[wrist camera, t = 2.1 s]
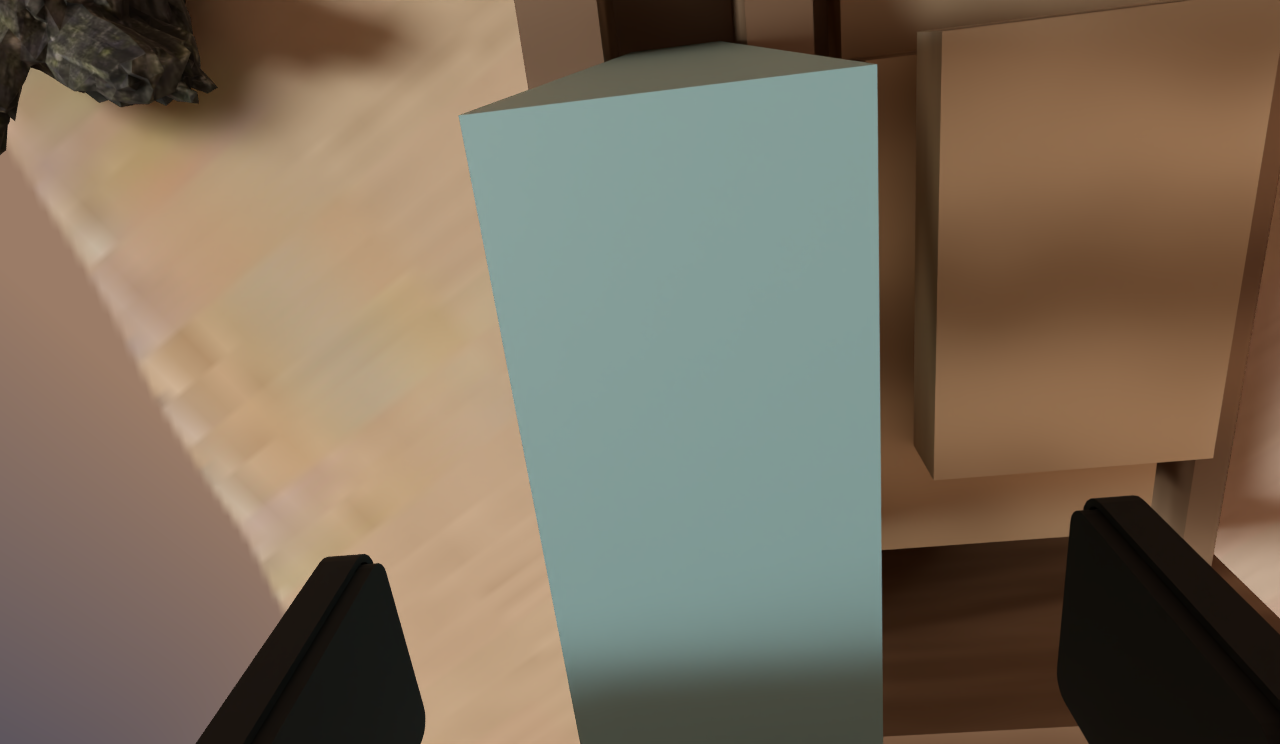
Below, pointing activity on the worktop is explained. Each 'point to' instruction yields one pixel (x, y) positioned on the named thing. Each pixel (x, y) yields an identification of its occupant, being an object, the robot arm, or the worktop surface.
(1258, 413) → the worktop surface
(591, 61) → the walnut rack
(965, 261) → the offcut stack
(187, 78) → the mineral specimen
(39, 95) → the worktop surface
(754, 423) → the teal sheet
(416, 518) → the worktop surface
